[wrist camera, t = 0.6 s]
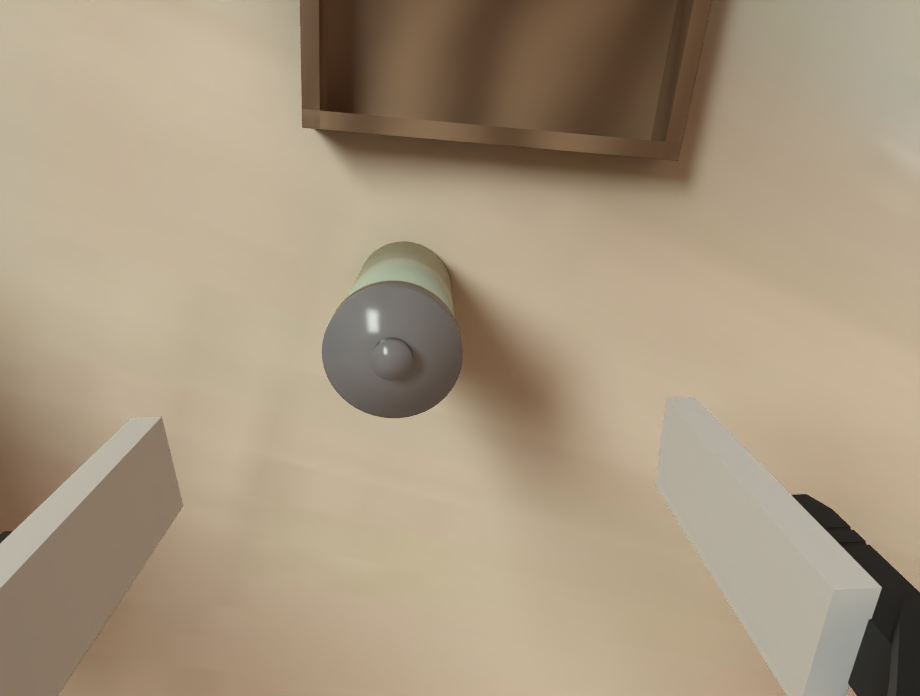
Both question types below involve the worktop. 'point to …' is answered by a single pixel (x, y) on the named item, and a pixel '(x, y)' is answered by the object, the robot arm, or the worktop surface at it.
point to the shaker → (395, 334)
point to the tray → (505, 71)
